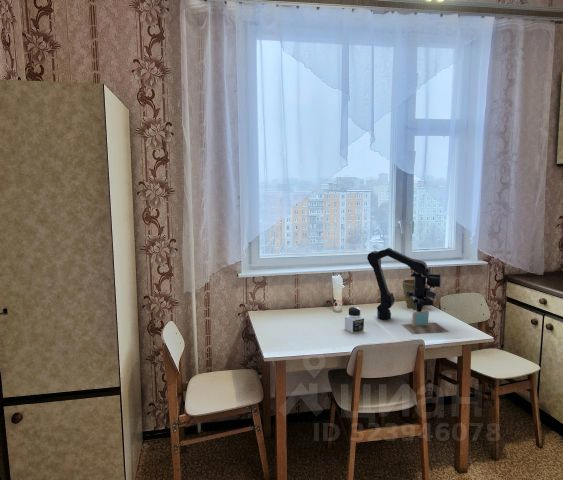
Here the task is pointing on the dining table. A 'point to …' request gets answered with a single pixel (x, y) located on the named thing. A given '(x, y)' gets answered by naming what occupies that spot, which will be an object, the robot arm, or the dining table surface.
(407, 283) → the plant pot
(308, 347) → the dining table surface
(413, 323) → the tile
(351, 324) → the medicine bottle
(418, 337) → the dining table surface
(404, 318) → the dining table surface
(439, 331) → the board
